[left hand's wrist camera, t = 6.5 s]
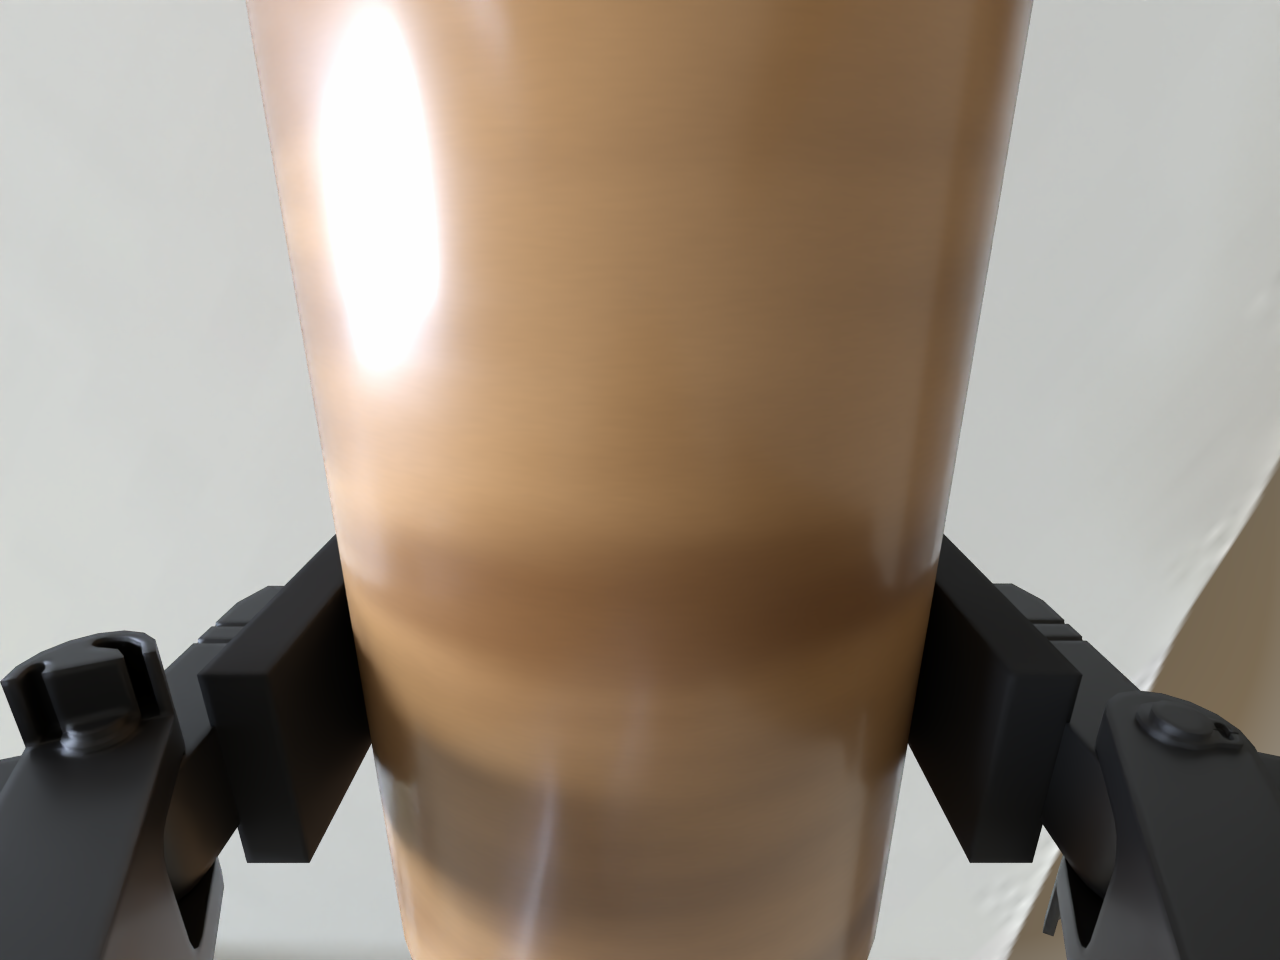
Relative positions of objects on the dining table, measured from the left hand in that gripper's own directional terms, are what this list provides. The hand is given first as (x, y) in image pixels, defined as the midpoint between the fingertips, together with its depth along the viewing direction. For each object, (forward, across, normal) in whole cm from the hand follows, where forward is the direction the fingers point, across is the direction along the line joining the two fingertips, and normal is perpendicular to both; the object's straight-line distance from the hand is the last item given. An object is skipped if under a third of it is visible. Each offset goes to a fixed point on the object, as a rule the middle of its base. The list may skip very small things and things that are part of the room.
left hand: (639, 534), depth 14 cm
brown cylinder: (0, 0, -10) cm, 10 cm away
